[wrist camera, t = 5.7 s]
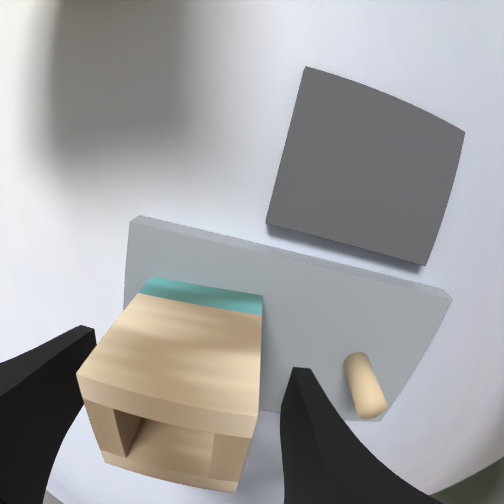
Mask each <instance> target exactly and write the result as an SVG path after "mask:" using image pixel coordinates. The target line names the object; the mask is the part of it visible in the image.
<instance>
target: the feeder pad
mask: <svg viewBox="0 0 504 504" xmlns="http://www.w3.org/2000/svg"><path fill="white" fill-rule="evenodd" d="M464 135H465V132H464V131H463V130H461V129H459V128H457V127H455V126H454V125H452V124H450V123H448V122H446V121H444V120H442V119H440V118H438V117H437V116H435V115H433V114H431V113H429V112H426V111H424V110H422V109H420V108H418V107H416V106H414V105H412V104H409V103H407V102H405V101H403V100H400V99H398V98H396V97H393V96H391V95H389V94H386V93H384V92H381V91H379V90H376V89H374V88H371V87H368V86H366V85H363V84H360V83H357V82H355V81H352V80H349V79H346V78H343V77H340V76H337V75H334V74H330V73H327V72H324V71H321V70H317V69H314V68H310V67H307V66H306V67H305V69H304V71H303V75H302V79H301V83H300V87H299V91H298V95H297V99H296V103H295V107H294V111H293V115H292V119H291V123H290V127H289V131H288V135H287V139H286V143H285V147H284V151H283V155H282V158H281V162H280V166H279V170H278V174H277V178H276V182H275V186H274V190H273V194H272V198H271V201H270V205H269V209H268V213H267V217H266V224H270V225H274V226H278V227H282V228H286V229H290V230H294V231H298V232H302V233H306V234H310V235H313V236H317V237H321V238H325V239H329V240H333V241H336V242H340V243H344V244H348V245H351V246H355V247H359V248H363V249H366V250H370V251H373V252H377V253H381V254H384V255H388V256H391V257H395V258H399V259H402V260H406V261H409V262H413V263H416V264H420V265H423V266H426V264H427V261H428V259H429V256H430V254H431V251H432V248H433V245H434V243H435V240H436V237H437V234H438V231H439V228H440V225H441V222H442V219H443V216H444V213H445V210H446V207H447V203H448V200H449V197H450V193H451V190H452V186H453V182H454V179H455V175H456V171H457V167H458V163H459V158H460V154H461V149H462V145H463V140H464Z"/></svg>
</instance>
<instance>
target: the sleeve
mask: <svg viewBox="0 0 504 504" xmlns="http://www.w3.org/2000/svg"><path fill="white" fill-rule="evenodd" d="M262 300H263V295H257V294H251V293H245V292H238V291H232V290H226V289H220V288H214V287H209V286H203V285H197V284H191V283H186V282H180V281H175V280H169V279H164V278H159V277H154V276H152V277H151V278H150V279H149V280H148V281H147V283H146V284H145V285H144V286H143V287H142V289H141V290H140V291H139V292H138V294H137V295H136V296H135V297H134V298H133V300H132V301H131V302H130V303H129V305H128V306H127V307H126V308H125V310H124V311H123V312H122V313H121V315H120V316H119V317H118V319H117V320H116V321H115V322H114V324H113V325H112V326H111V328H110V329H109V330H108V331H107V333H106V334H105V335H104V337H103V338H102V339H101V340H100V342H99V343H98V344H97V346H96V347H95V348H94V350H93V351H92V352H91V354H90V355H89V356H88V358H87V359H86V360H85V362H84V363H83V365H82V366H81V367H80V369H79V370H78V371H77V373H76V376H77V380H78V383H79V387H80V391H81V394H82V398H83V401H84V404H85V407H86V411H87V414H88V417H89V420H90V423H91V426H92V429H93V432H94V434H95V437H96V440H97V443H98V445H99V448H100V450H101V453H102V455H103V458H104V460H105V463H108V464H111V465H114V466H117V467H120V468H123V469H126V470H129V471H133V472H136V473H139V474H143V475H146V476H150V477H154V478H157V479H161V480H165V481H170V482H174V483H178V484H183V485H188V486H193V487H198V488H204V489H210V490H216V491H223V492H231V493H235V492H236V489H237V486H238V483H239V480H240V476H241V473H242V470H243V467H244V463H245V460H246V457H247V453H248V450H249V447H250V443H251V440H252V436H253V433H254V430H255V426H256V423H257V419H258V409H259V385H260V359H261V331H262Z"/></svg>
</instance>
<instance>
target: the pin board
mask: <svg viewBox="0 0 504 504" xmlns="http://www.w3.org/2000/svg"><path fill="white" fill-rule="evenodd" d="M152 276H154V277H159V278H164V279H169V280H175V281H180V282H186V283H191V284H197V285H203V286H209V287H214V288H220V289H226V290H232V291H238V292H245V293H251V294H257V295H263V300H262V331H261V359H260V385H259V410H264V411H271V412H277V413H281V404H282V401H283V397H284V394H285V391H286V388H287V385H288V382H289V378H290V375H291V372H292V368H293V367H301V368H310V369H311V370H312V371H313V373H314V375H315V377H316V378H317V380H318V382H319V384H320V385H321V387H322V389H323V390H324V392H325V394H326V395H327V397H328V398H329V400H330V402H331V403H332V405H333V406H334V408H335V409H336V411H337V412H338V413H339V415H340V416H341V418H342V419H343V420H355V421H381V420H382V418H383V417H384V416H385V414H386V413H387V411H388V410H389V409H390V407H391V406H392V404H393V403H394V402H395V400H396V399H397V397H398V396H399V394H400V393H401V391H402V390H403V388H404V387H405V385H406V384H407V382H408V380H409V379H410V377H411V376H412V374H413V373H414V371H415V369H416V368H417V366H418V364H419V363H420V361H421V359H422V358H423V356H424V354H425V352H426V351H427V349H428V347H429V345H430V343H431V342H432V340H433V338H434V336H435V334H436V332H437V330H438V329H439V327H440V325H441V323H442V321H443V319H444V317H445V315H446V313H447V311H448V309H449V307H450V304H451V302H452V300H453V299H452V298H451V297H450V296H449V295H448V294H447V293H446V292H445V291H444V290H442V289H438V288H434V287H430V286H426V285H423V284H419V283H415V282H411V281H407V280H403V279H399V278H395V277H391V276H387V275H383V274H379V273H375V272H371V271H367V270H363V269H359V268H355V267H351V266H347V265H343V264H339V263H335V262H331V261H327V260H323V259H319V258H315V257H311V256H307V255H303V254H299V253H295V252H291V251H286V250H282V249H278V248H274V247H270V246H266V245H262V244H258V243H254V242H249V241H245V240H241V239H237V238H233V237H229V236H224V235H220V234H216V233H212V232H208V231H203V230H199V229H195V228H191V227H186V226H182V225H178V224H174V223H169V222H165V221H161V220H157V219H152V218H148V217H144V216H138V217H137V218H135V219H133V220H132V221H130V226H129V236H128V246H127V257H126V270H125V286H124V308H123V311H124V310H125V308H126V307H127V306H128V305H129V303H130V302H131V301H132V300H133V298H134V297H135V296H136V295H137V294H138V292H139V291H140V290H141V289H142V287H143V286H144V285H145V284H146V283H147V281H148V280H149V279H150V278H151V277H152Z"/></svg>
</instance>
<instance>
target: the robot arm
mask: <svg viewBox="0 0 504 504" xmlns="http://www.w3.org/2000/svg"><path fill="white" fill-rule="evenodd" d="M96 346H97V344H96V337H95V330H94V329H93V328H89V327H86V326H83V325H80V326H77V327H75V328H73V329H71V330H69V331H67V332H65V333H63V334H61V335H59V336H58V337H56V338H54V339H52V340H50V341H48V342H46V343H44V344H42V345H40V346H38V347H36V348H34V349H32V350H30V351H28V352H25V353H23V354H21V355H19V356H17V357H15V358H12V359H10V360H7V361H5V362H2V363H0V504H43V498H44V494H45V490H46V486H47V483H48V479H49V476H50V473H51V470H52V467H53V464H54V461H55V458H56V456H57V453H58V451H59V448H60V446H61V443H62V441H63V439H64V437H65V435H66V433H67V431H68V430H69V428H70V426H71V425H72V423H73V421H74V420H75V418H76V416H77V415H78V413H79V411H80V410H81V408H82V407H83V405H84V401H83V398H82V394H81V391H80V387H79V383H78V380H77V376H76V373H77V371H78V370H79V369H80V367H81V366H82V365H83V363H84V362H85V360H86V359H87V358H88V356H89V355H90V354H91V352H92V351H93V350H94V348H95V347H96ZM280 438H281V450H282V461H283V472H284V488H285V494H284V504H443V503H442V502H440V501H438V500H436V499H434V498H432V497H430V496H428V495H427V494H425V493H423V492H421V491H419V490H418V489H416V488H415V487H413V486H412V485H410V484H409V483H407V482H406V481H404V480H403V479H401V478H400V477H399V476H397V475H396V474H395V473H393V472H392V471H391V470H390V469H389V468H387V467H386V466H385V465H384V464H383V463H381V462H380V461H379V460H378V459H377V458H376V457H375V456H374V455H373V454H372V453H371V452H370V451H369V450H368V449H367V448H366V447H365V446H364V445H363V444H362V443H361V442H360V441H359V439H358V438H357V437H356V436H355V435H354V433H353V432H352V431H351V430H350V428H349V427H348V426H347V424H346V423H345V422H344V420H343V419H342V418H341V416H340V415H339V413H338V412H337V411H336V409H335V408H334V406H333V405H332V403H331V402H330V400H329V398H328V397H327V395H326V394H325V392H324V390H323V389H322V387H321V385H320V384H319V382H318V380H317V378H316V377H315V375H314V373H313V371H312V370H311V369H310V368H301V367H293V368H292V372H291V375H290V378H289V382H288V385H287V388H286V391H285V394H284V397H283V401H282V404H281V413H280Z"/></svg>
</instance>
